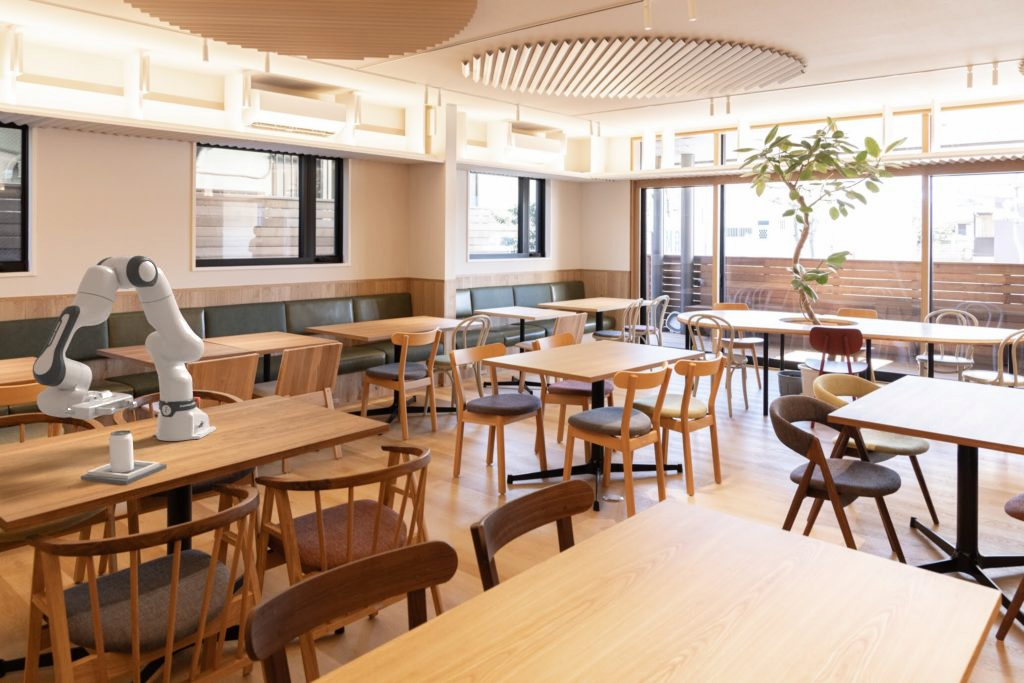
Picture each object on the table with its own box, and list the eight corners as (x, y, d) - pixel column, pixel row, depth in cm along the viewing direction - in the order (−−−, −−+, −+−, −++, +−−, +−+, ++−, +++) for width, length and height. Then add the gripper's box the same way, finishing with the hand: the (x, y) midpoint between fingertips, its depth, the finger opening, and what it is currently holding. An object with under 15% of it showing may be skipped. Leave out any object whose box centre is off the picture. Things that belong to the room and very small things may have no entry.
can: (126, 474, 242) (124, 435, 240) (106, 473, 242) (104, 434, 241) (138, 468, 248) (136, 430, 246) (118, 467, 249) (117, 429, 247)
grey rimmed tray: (123, 463, 257) (123, 457, 256) (166, 468, 253) (166, 461, 252) (80, 479, 239) (80, 472, 239) (126, 484, 235) (125, 477, 235)
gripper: (59, 401, 236) (98, 404, 233) (109, 389, 256) (146, 391, 252) (60, 422, 237) (100, 426, 234) (110, 408, 257) (147, 411, 253)
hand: (124, 408), depth 243 cm, fingers open, 8 cm apart
